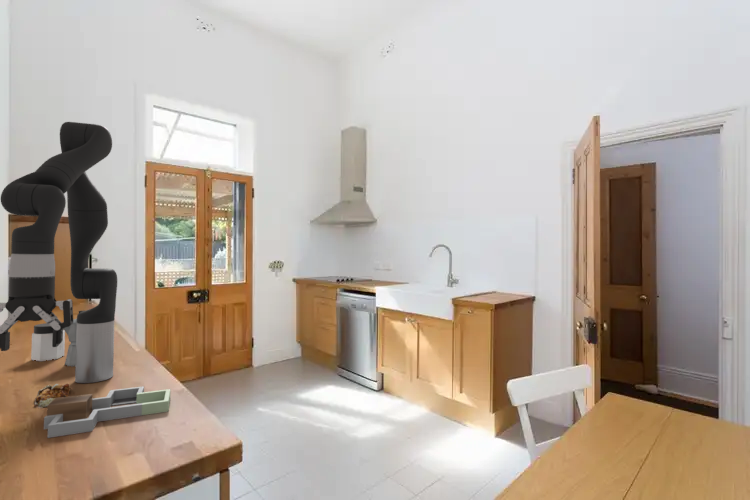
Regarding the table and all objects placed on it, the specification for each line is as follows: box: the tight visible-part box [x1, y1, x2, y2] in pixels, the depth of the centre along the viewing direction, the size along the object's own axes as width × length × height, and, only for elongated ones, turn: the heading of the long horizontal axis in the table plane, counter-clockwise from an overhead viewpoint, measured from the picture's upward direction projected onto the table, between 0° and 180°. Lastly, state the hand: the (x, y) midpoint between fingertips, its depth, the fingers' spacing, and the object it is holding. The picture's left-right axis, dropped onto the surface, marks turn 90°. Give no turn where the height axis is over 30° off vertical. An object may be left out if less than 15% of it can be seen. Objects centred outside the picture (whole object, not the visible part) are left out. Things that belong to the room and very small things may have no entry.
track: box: [43, 385, 172, 439], centre depth 90 cm, size 19×24×2 cm
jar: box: [30, 322, 66, 362], centre depth 135 cm, size 9×8×12 cm
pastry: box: [33, 383, 72, 409], centre depth 98 cm, size 7×12×4 cm, turn 35°
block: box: [46, 393, 93, 422], centre depth 87 cm, size 5×7×4 cm
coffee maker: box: [64, 310, 84, 367], centre depth 131 cm, size 15×9×18 cm, turn 148°
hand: (31, 348), depth 83 cm, fingers open, 8 cm apart
